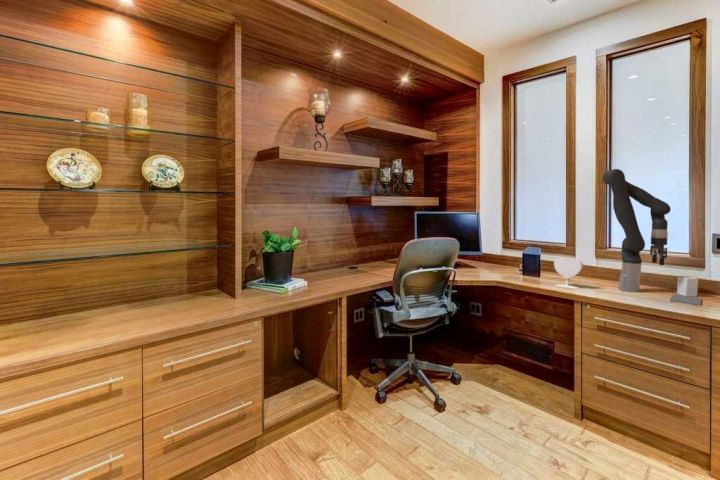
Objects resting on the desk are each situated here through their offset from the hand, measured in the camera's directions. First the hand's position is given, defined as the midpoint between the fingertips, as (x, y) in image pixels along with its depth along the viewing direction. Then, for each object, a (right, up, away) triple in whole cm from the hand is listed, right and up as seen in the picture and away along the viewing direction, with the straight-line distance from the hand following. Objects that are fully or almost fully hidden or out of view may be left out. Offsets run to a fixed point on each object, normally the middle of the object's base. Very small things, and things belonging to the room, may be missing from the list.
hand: (657, 263), depth 211 cm
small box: (+13, -18, -5) cm, 23 cm away
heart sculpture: (-45, -16, +15) cm, 50 cm away
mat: (+1, -19, -17) cm, 25 cm away
